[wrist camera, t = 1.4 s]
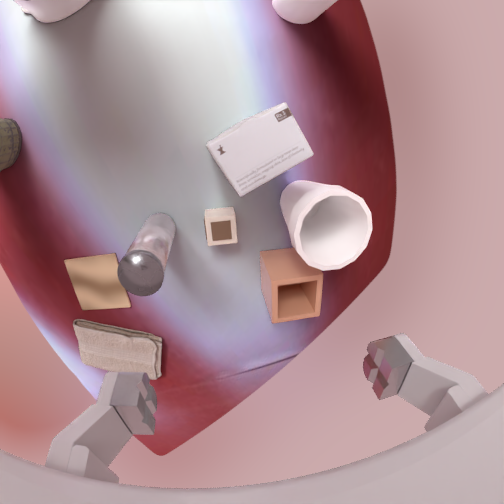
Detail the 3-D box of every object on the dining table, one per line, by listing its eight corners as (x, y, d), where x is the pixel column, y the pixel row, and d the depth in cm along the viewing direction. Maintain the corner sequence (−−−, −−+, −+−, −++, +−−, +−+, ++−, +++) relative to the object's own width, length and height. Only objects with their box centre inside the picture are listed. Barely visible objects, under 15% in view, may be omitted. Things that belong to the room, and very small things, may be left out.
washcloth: (162, 372, 53) (161, 383, 50) (83, 358, 49) (79, 368, 46) (163, 331, 49) (162, 343, 46) (75, 315, 45) (69, 325, 42)
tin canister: (140, 214, 39) (111, 256, 26) (173, 210, 39) (157, 251, 27) (147, 245, 41) (124, 297, 28) (178, 242, 41) (167, 293, 29)
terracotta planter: (259, 251, 44) (271, 281, 36) (303, 246, 45) (323, 274, 36) (261, 289, 47) (272, 323, 39) (302, 284, 48) (319, 315, 39)
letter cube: (204, 209, 40) (203, 218, 36) (232, 206, 40) (235, 214, 37) (207, 236, 42) (207, 247, 38) (235, 233, 42) (237, 244, 38)
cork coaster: (65, 259, 39) (64, 260, 39) (115, 253, 40) (114, 254, 40) (83, 308, 44) (82, 310, 43) (131, 305, 45) (130, 306, 44)
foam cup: (339, 204, 42) (384, 235, 31) (294, 241, 44) (324, 285, 32) (305, 156, 39) (345, 171, 27) (256, 197, 40) (276, 228, 28)
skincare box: (227, 176, 38) (237, 204, 25) (204, 140, 36) (201, 147, 22) (279, 146, 37) (317, 158, 24) (258, 109, 35) (286, 100, 22)
